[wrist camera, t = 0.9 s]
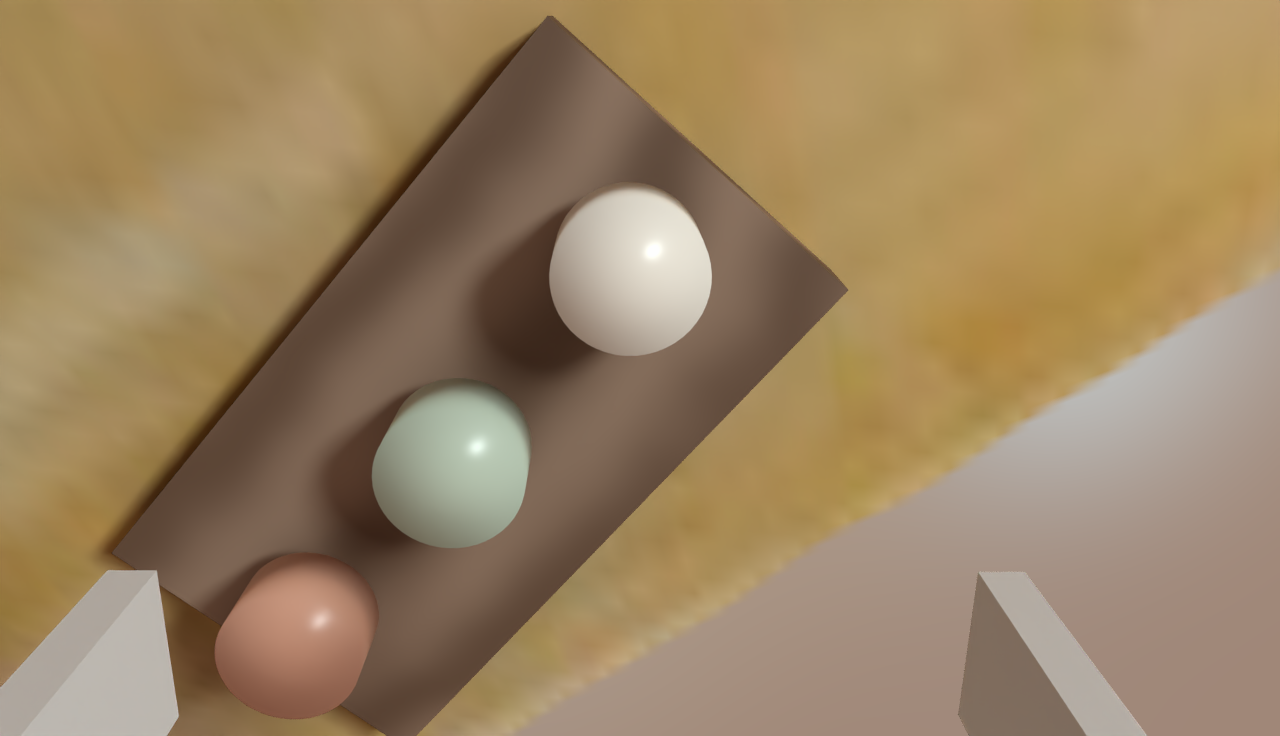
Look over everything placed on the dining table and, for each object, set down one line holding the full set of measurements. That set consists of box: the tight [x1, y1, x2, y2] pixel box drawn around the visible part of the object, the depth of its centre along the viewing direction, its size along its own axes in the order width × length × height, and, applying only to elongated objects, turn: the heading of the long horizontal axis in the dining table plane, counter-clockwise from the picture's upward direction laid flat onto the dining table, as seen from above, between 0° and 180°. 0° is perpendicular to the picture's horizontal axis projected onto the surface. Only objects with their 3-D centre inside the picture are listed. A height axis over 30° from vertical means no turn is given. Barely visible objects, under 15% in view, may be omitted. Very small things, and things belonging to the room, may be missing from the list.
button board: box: [112, 16, 848, 736], centre depth 39 cm, size 14×26×3 cm, turn 139°
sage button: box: [372, 378, 532, 548], centre depth 35 cm, size 5×5×3 cm
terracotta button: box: [215, 552, 379, 719], centre depth 37 cm, size 5×5×3 cm
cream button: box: [549, 182, 712, 356], centre depth 33 cm, size 5×5×3 cm
